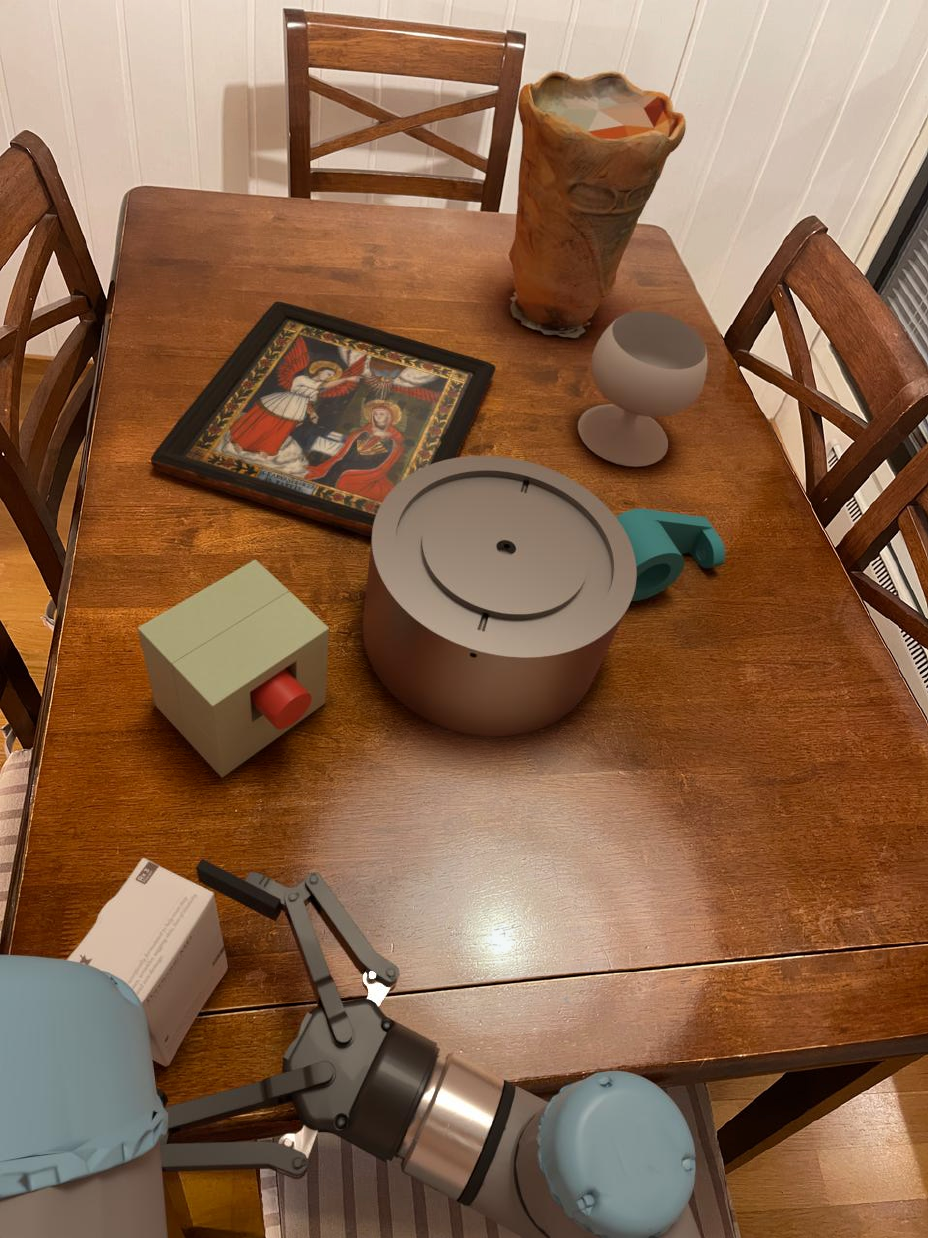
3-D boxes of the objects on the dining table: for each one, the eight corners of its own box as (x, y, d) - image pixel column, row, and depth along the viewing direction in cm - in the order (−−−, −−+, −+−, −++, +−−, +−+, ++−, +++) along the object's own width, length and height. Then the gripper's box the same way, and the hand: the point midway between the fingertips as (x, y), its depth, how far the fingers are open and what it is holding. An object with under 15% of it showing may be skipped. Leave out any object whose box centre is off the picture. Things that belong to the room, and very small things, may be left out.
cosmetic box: (168, 1069, 64) (140, 1017, 52) (97, 1031, 65) (54, 971, 53) (232, 962, 69) (219, 893, 57) (165, 928, 70) (140, 852, 58)
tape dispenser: (585, 562, 101) (603, 514, 95) (694, 540, 106) (718, 493, 100) (611, 606, 98) (632, 560, 92) (722, 581, 103) (749, 535, 97)
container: (613, 580, 100) (650, 496, 90) (577, 767, 85) (617, 692, 74) (402, 519, 101) (415, 428, 91) (328, 692, 85) (333, 607, 75)
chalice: (568, 395, 120) (598, 296, 108) (667, 410, 121) (707, 314, 109) (572, 465, 111) (605, 366, 99) (679, 480, 112) (724, 384, 101)
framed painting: (246, 306, 121) (245, 287, 119) (496, 363, 122) (500, 345, 119) (139, 494, 97) (135, 474, 95) (451, 563, 98) (454, 546, 96)
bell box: (325, 703, 85) (329, 628, 75) (221, 778, 78) (212, 706, 69) (259, 638, 88) (255, 558, 79) (154, 705, 82) (136, 627, 72)
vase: (627, 290, 139) (695, 83, 115) (612, 363, 126) (685, 147, 103) (497, 255, 139) (539, 42, 116) (469, 324, 126) (509, 100, 103)
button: (311, 710, 77) (312, 685, 74) (275, 737, 75) (274, 712, 72) (271, 670, 79) (270, 644, 76) (234, 695, 77) (232, 669, 74)
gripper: (322, 1329, 53) (26, 1154, 56) (484, 949, 68) (245, 828, 71) (326, 1332, 47) (-5, 1136, 50) (502, 915, 62) (241, 785, 65)
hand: (141, 955), depth 61 cm, fingers open, 13 cm apart
